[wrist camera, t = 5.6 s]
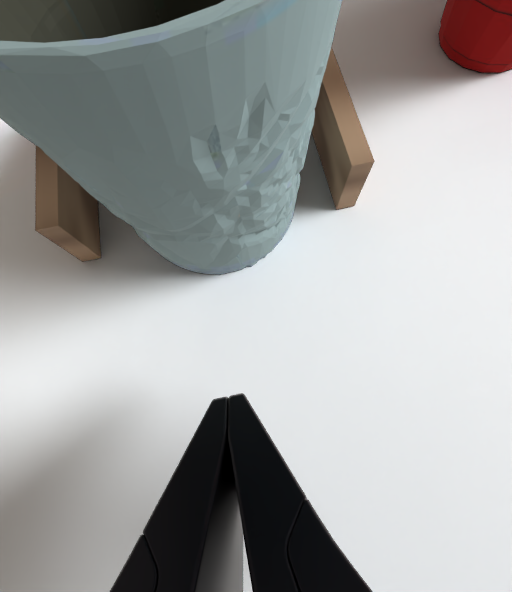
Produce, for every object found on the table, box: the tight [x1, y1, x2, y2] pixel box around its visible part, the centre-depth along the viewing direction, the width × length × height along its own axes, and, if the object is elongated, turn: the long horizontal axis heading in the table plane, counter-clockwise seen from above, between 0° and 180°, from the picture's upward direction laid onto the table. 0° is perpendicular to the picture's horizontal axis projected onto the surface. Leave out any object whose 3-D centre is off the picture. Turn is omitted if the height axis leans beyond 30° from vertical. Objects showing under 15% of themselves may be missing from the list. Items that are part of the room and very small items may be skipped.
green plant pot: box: [0, 0, 342, 275], centre depth 12 cm, size 10×10×12 cm
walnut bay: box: [35, 47, 374, 262], centre depth 17 cm, size 10×15×4 cm
